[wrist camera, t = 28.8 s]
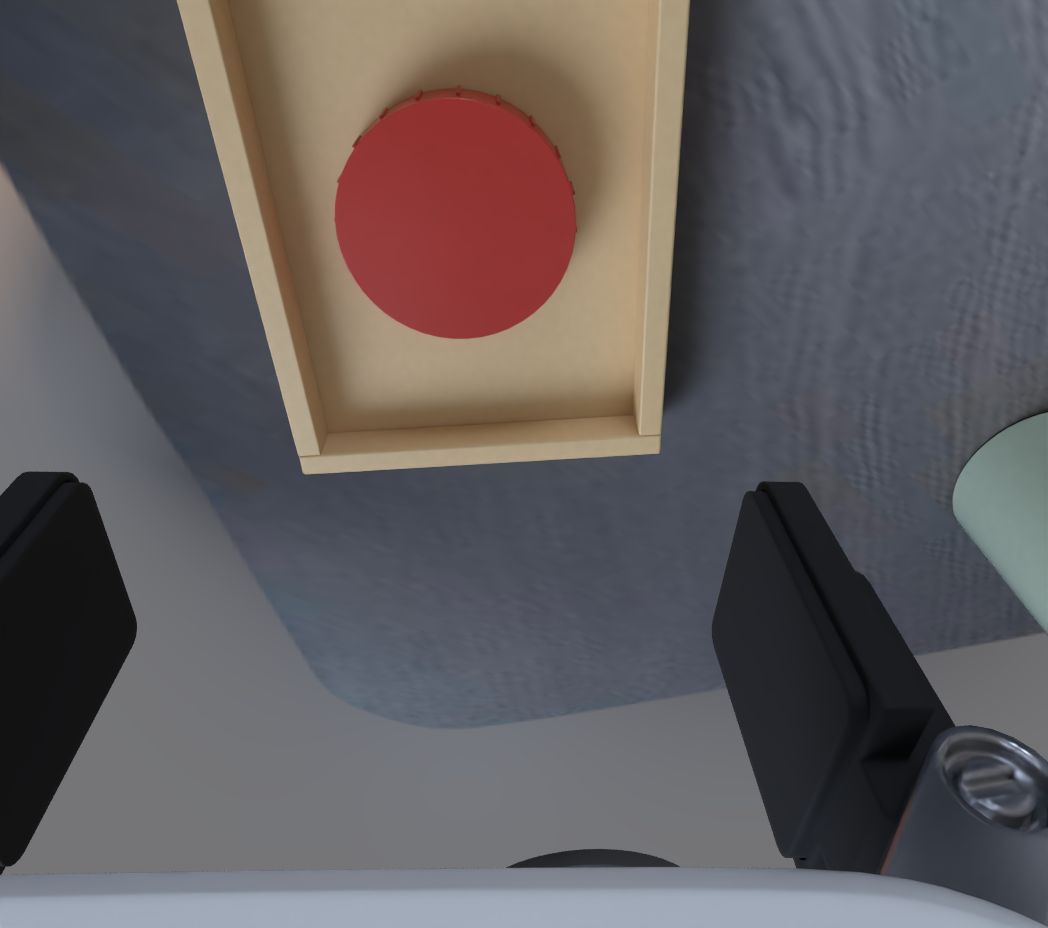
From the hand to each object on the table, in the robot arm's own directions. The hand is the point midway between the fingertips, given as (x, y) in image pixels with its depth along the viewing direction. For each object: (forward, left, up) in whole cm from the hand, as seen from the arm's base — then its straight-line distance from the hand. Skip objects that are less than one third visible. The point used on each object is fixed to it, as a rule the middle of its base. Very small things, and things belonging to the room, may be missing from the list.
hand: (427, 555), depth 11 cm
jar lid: (+1, 0, -14) cm, 14 cm away
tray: (+1, 0, -15) cm, 15 cm away
